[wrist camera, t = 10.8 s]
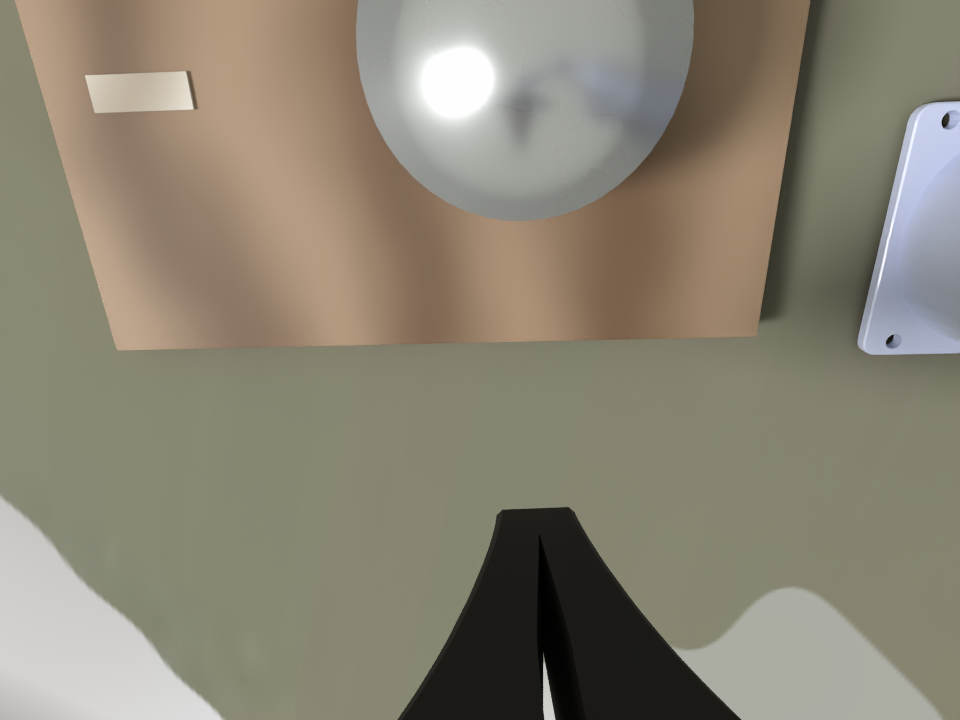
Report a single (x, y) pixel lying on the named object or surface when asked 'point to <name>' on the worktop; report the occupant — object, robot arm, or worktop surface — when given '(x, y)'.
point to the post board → (388, 188)
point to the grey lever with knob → (522, 94)
